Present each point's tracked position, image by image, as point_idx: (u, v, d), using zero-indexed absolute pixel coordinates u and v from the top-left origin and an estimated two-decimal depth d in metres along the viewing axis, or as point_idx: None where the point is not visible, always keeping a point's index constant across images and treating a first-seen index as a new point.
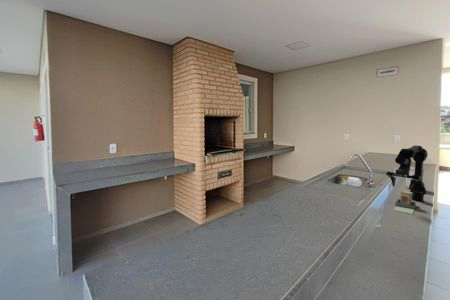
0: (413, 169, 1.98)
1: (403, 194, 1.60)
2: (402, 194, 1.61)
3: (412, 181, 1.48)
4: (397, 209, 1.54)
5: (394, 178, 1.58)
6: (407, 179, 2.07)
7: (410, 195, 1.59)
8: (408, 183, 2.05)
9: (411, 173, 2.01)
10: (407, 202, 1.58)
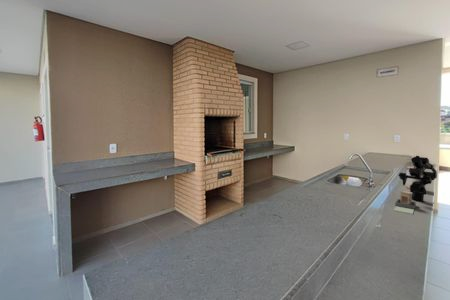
0: None
1: (403, 194, 1.60)
2: (402, 194, 1.61)
3: (423, 180, 1.60)
4: (397, 209, 1.54)
5: (405, 179, 1.70)
6: (407, 179, 2.07)
7: (410, 195, 1.59)
8: (408, 183, 2.05)
9: None
10: (407, 202, 1.58)
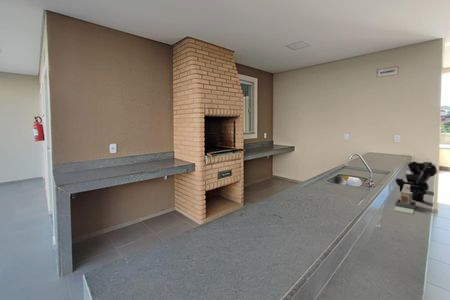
0: None
1: (403, 194, 1.60)
2: (402, 194, 1.61)
3: (420, 187, 1.58)
4: (397, 209, 1.54)
5: (402, 185, 1.68)
6: None
7: (410, 195, 1.59)
8: None
9: None
10: (407, 202, 1.58)
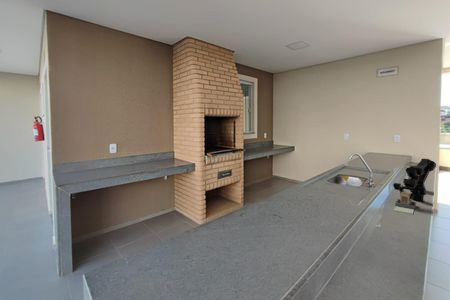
0: None
1: (403, 194, 1.60)
2: (402, 194, 1.61)
3: (414, 191, 1.57)
4: (397, 209, 1.54)
5: (403, 190, 1.65)
6: None
7: (410, 195, 1.59)
8: None
9: None
10: (407, 202, 1.58)
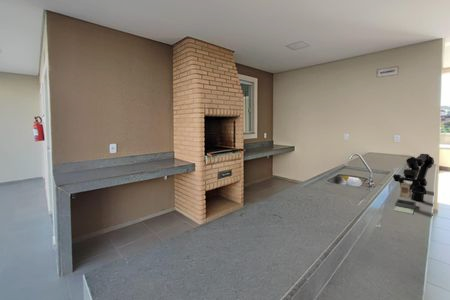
0: None
1: (403, 185, 1.57)
2: (402, 185, 1.58)
3: (414, 182, 1.55)
4: (397, 209, 1.54)
5: (403, 182, 1.62)
6: None
7: (410, 186, 1.56)
8: None
9: None
10: (407, 193, 1.56)
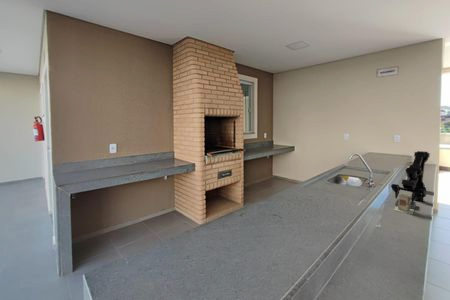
0: None
1: (401, 197, 1.52)
2: (400, 197, 1.52)
3: (416, 193, 1.47)
4: (397, 209, 1.54)
5: (398, 191, 1.58)
6: None
7: (409, 198, 1.50)
8: None
9: None
10: (405, 206, 1.50)
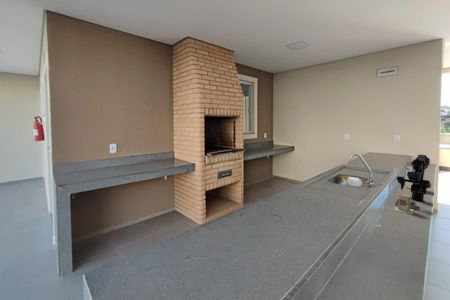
0: None
1: (401, 197, 1.52)
2: (400, 197, 1.52)
3: (421, 184, 1.53)
4: (397, 209, 1.54)
5: (403, 183, 1.63)
6: None
7: (409, 198, 1.50)
8: (408, 183, 2.05)
9: None
10: (405, 206, 1.50)
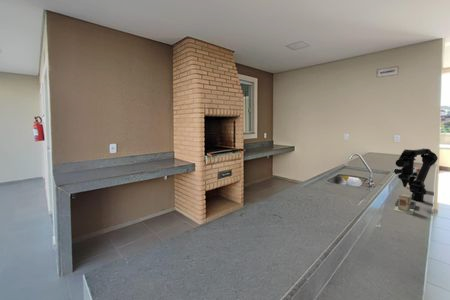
0: (413, 169, 1.98)
1: (401, 197, 1.52)
2: (400, 197, 1.52)
3: None
4: (397, 209, 1.54)
5: (411, 177, 1.69)
6: None
7: (409, 198, 1.50)
8: None
9: None
10: (405, 206, 1.50)
